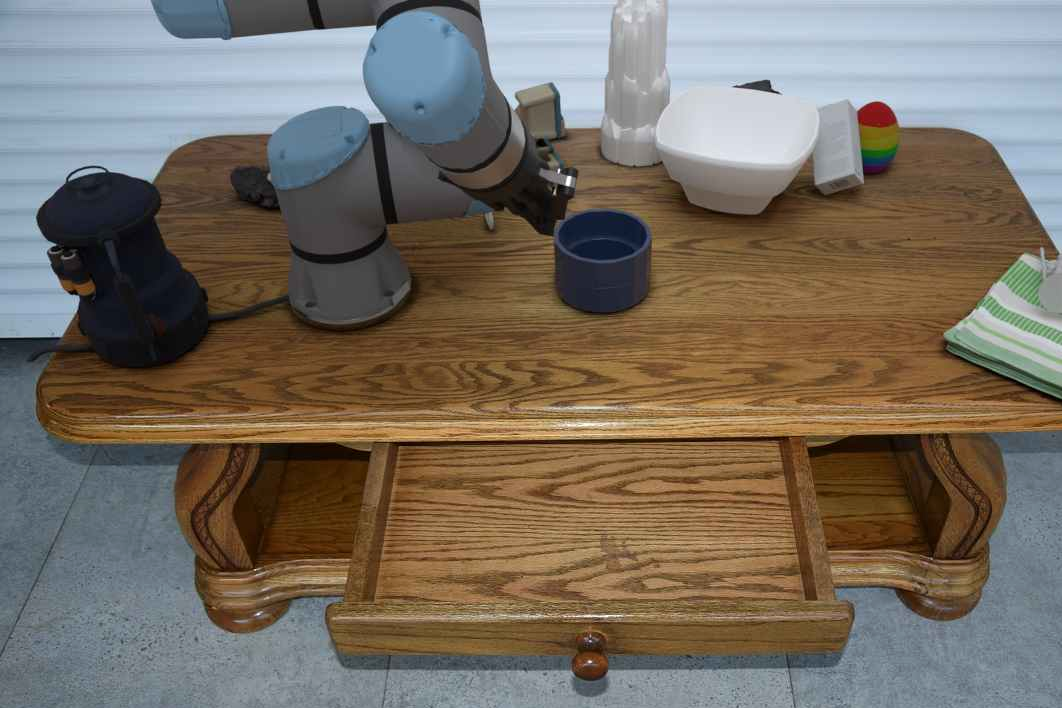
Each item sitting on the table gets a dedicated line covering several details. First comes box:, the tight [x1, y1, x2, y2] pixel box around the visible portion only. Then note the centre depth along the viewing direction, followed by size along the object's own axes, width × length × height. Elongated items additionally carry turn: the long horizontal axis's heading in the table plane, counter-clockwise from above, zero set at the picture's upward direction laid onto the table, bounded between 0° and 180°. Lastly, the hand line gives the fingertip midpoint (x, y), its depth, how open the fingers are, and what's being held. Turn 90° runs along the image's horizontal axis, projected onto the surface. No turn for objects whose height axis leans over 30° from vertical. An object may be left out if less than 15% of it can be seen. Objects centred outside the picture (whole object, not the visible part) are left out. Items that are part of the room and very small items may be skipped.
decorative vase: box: [600, 0, 671, 167], centre depth 139 cm, size 11×11×25 cm
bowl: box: [653, 85, 820, 216], centre depth 133 cm, size 22×22×12 cm
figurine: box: [1038, 246, 1062, 313], centre depth 116 cm, size 5×5×12 cm
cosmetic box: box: [811, 98, 865, 196], centre depth 136 cm, size 6×4×12 cm
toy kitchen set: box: [514, 81, 566, 172], centre depth 141 cm, size 18×14×11 cm
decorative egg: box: [856, 100, 901, 174], centre depth 140 cm, size 8×8×10 cm
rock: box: [229, 163, 280, 209], centre depth 135 cm, size 12×8×10 cm
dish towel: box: [942, 252, 1062, 400], centre depth 113 cm, size 18×23×3 cm
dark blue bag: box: [35, 165, 210, 368], centre depth 106 cm, size 15×21×20 cm
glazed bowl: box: [553, 207, 653, 313], centre depth 119 cm, size 12×12×8 cm
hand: (548, 222), depth 99 cm, fingers closed
